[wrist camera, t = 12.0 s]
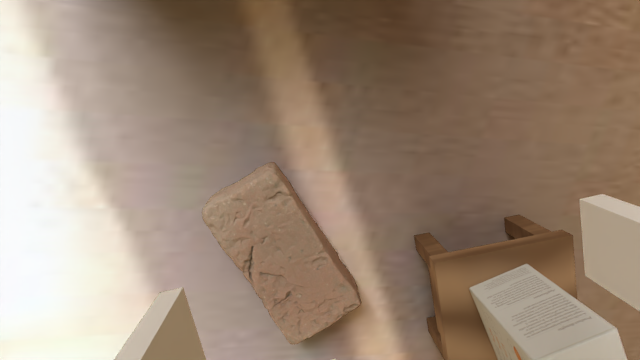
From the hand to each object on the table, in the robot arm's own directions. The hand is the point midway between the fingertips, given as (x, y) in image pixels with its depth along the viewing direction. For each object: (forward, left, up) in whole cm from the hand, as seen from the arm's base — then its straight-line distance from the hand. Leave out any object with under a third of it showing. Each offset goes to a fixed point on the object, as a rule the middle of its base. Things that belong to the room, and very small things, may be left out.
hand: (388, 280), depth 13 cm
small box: (+15, +13, -20) cm, 28 cm away
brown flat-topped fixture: (+15, +13, -28) cm, 34 cm away
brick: (+8, -6, -28) cm, 30 cm away
